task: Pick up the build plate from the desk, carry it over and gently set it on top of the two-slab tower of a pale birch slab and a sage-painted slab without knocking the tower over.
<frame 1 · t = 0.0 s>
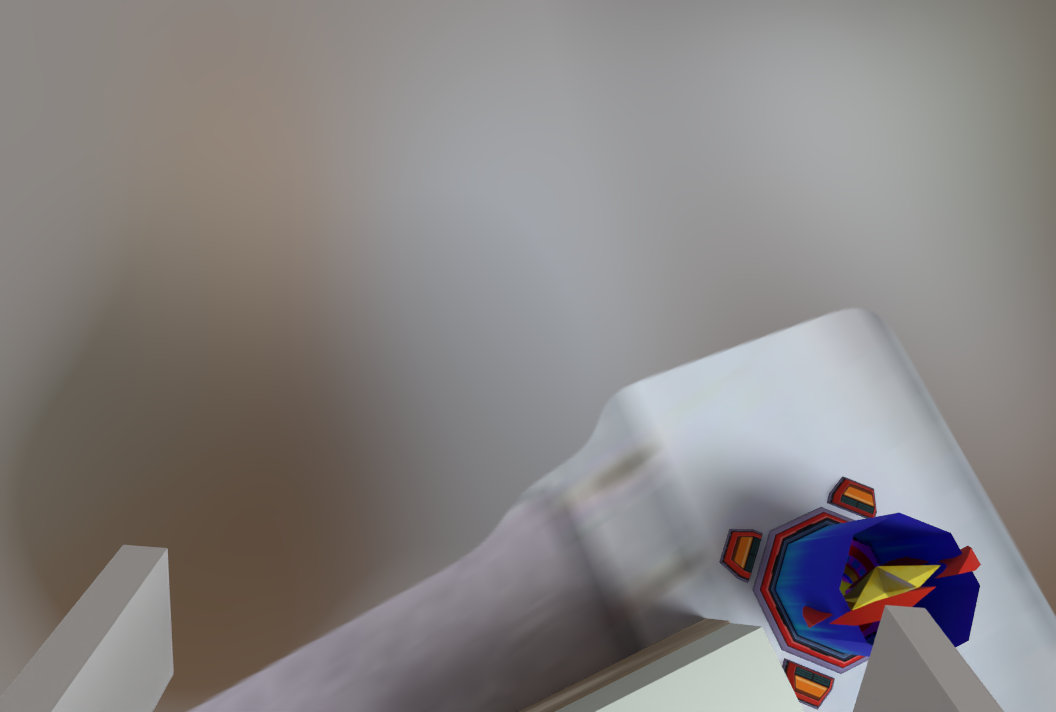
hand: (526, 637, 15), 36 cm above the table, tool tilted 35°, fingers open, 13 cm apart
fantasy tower: (828, 588, 52), on the table
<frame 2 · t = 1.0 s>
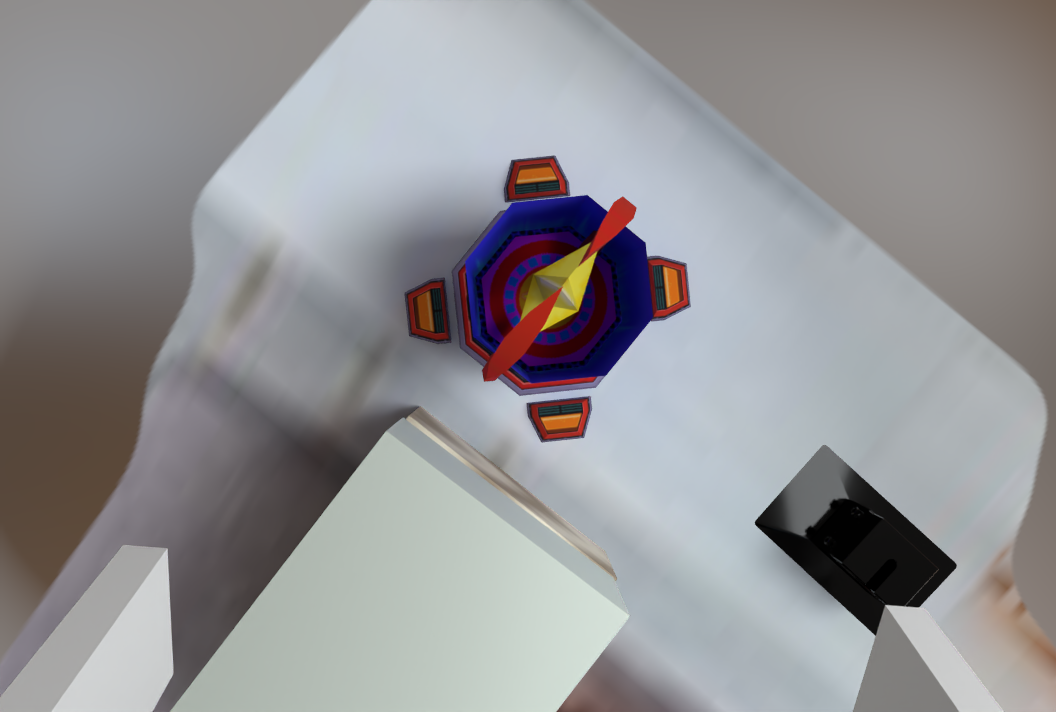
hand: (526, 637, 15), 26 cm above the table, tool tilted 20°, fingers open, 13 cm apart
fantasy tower: (547, 299, 41), on the table
top block: (407, 628, 37), point 5 cm above the table, touching base block
base block: (422, 591, 42), on the table, touching top block
build plate: (848, 540, 42), on the table
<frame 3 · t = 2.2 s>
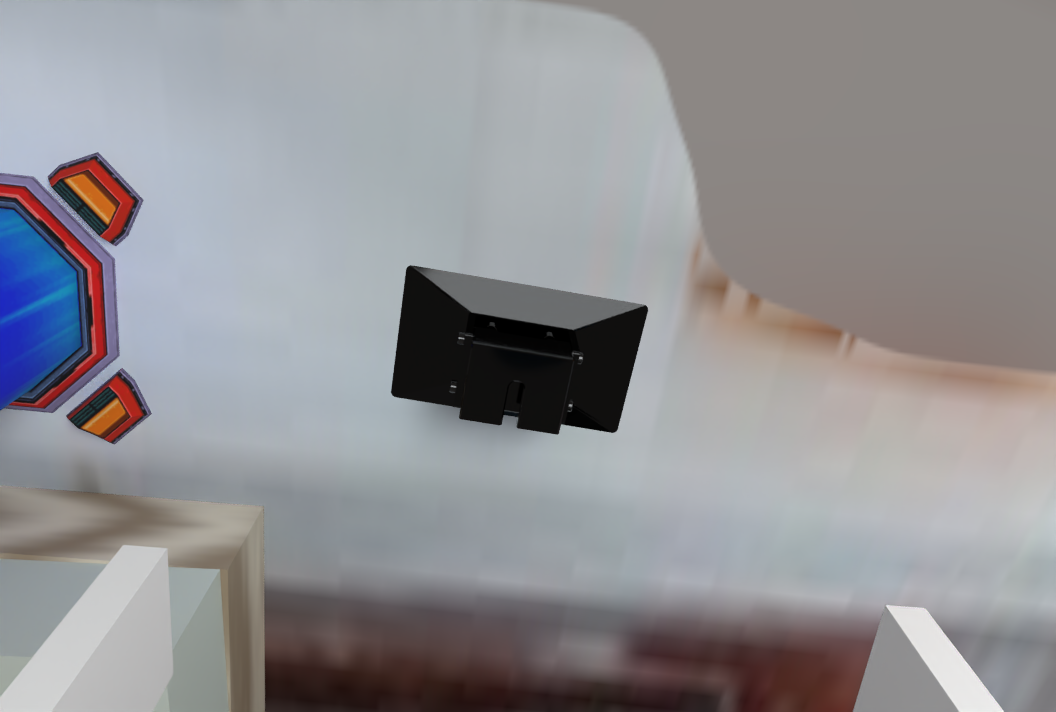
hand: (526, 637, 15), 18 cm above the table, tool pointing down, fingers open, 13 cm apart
base block: (132, 637, 37), on the table
build plate: (515, 346, 33), on the table
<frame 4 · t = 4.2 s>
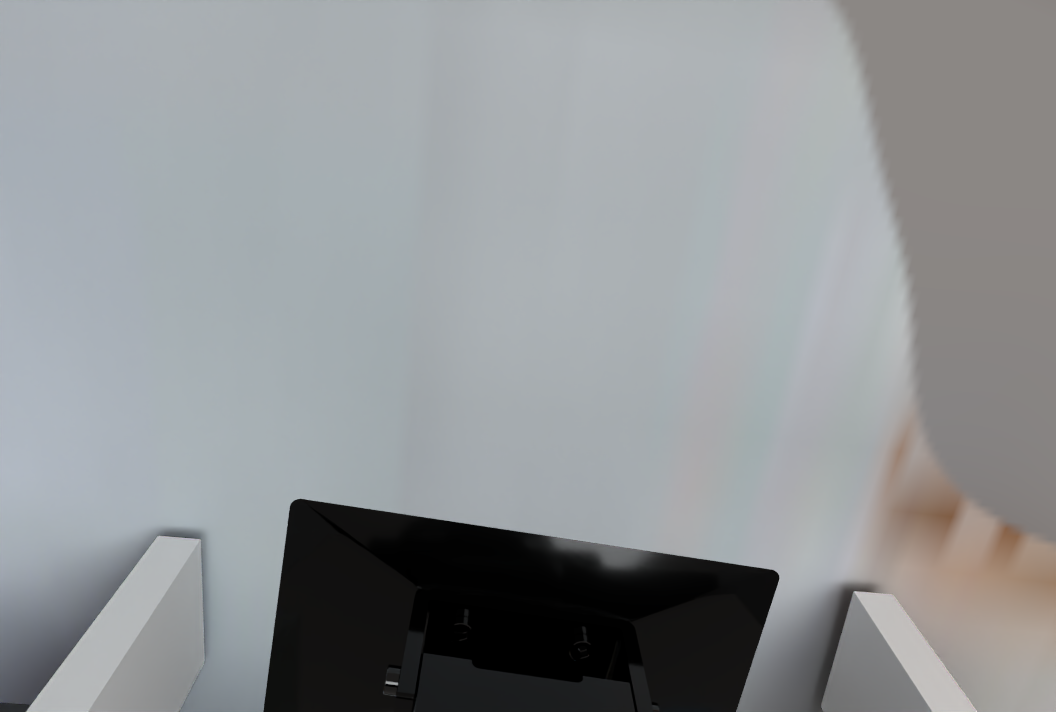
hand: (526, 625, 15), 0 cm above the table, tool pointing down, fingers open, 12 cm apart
build plate: (511, 628, 17), on the table
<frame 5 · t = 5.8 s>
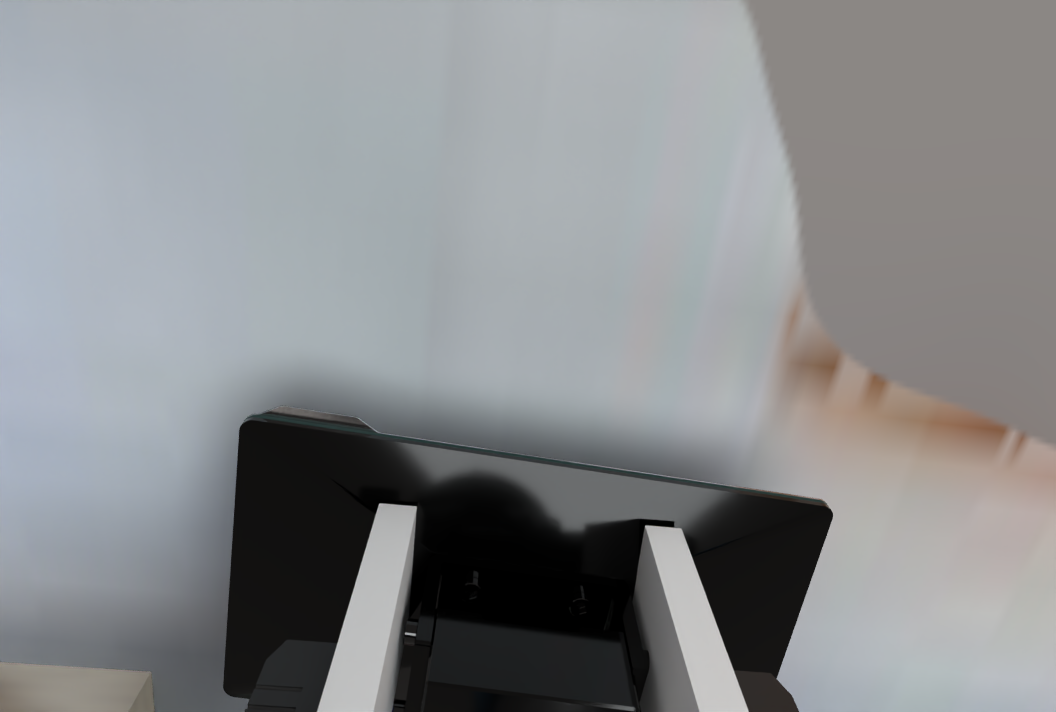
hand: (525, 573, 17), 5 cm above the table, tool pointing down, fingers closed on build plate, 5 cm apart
build plate: (517, 591, 18), point 4 cm above the table, touching gripper
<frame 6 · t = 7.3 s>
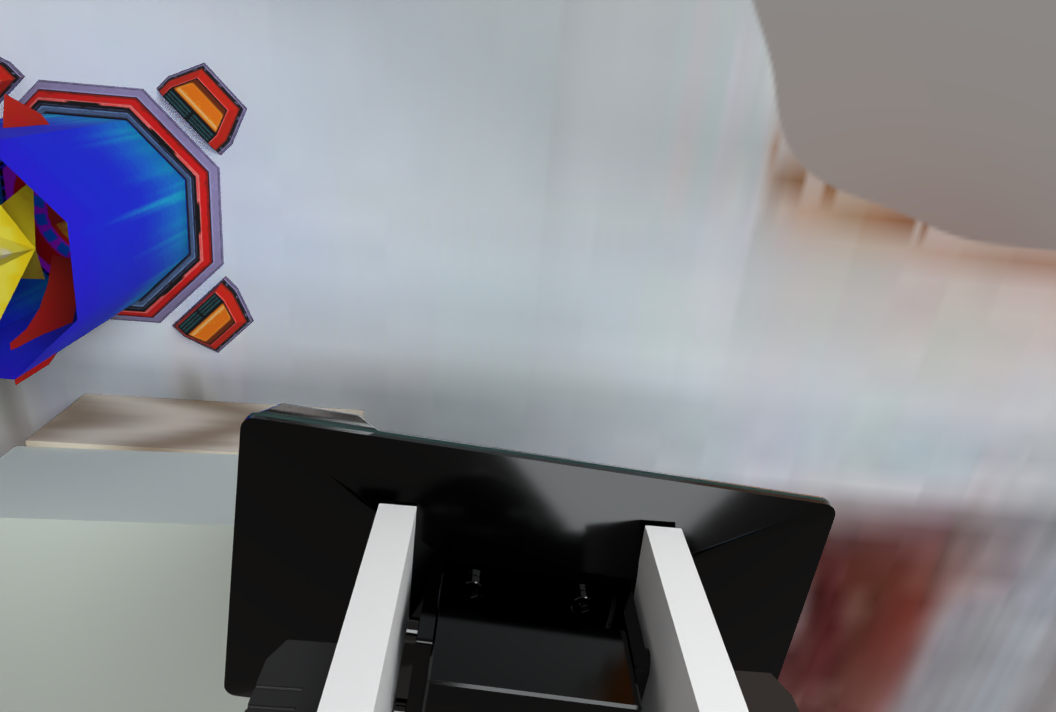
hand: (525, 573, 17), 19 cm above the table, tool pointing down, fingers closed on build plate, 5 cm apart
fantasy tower: (105, 206, 33), on the table
top block: (192, 614, 34), point 5 cm above the table, touching base block
base block: (236, 545, 38), on the table, touching top block
build plate: (518, 589, 18), point 18 cm above the table, touching gripper
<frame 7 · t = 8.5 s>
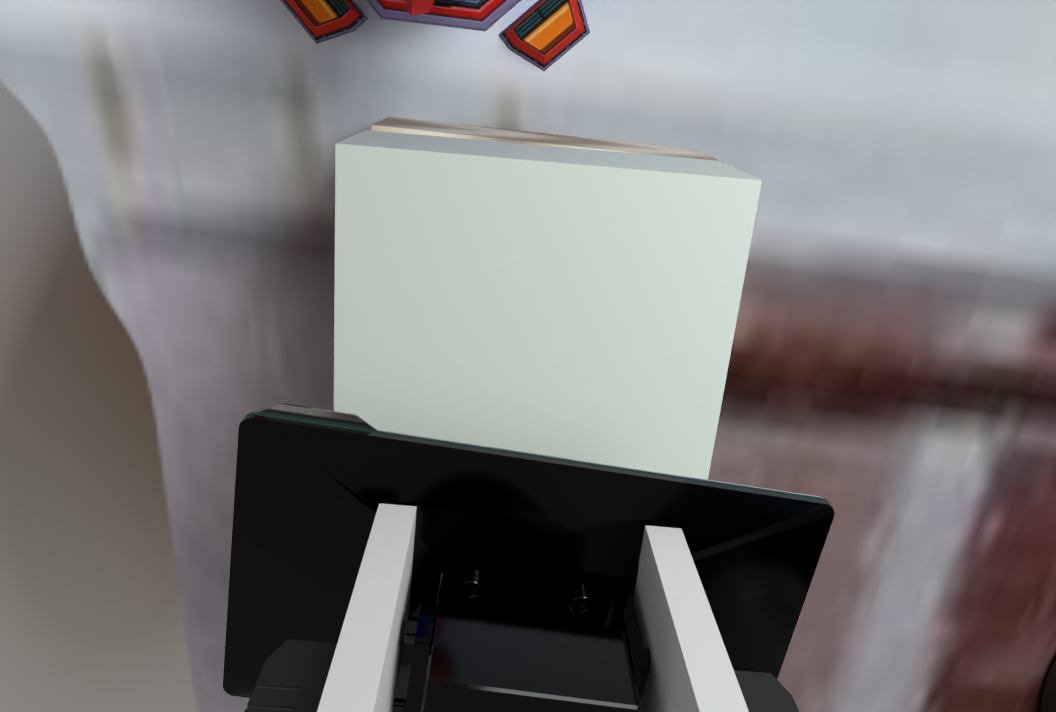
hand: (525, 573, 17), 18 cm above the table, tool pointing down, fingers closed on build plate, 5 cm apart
top block: (525, 353, 30), point 4 cm above the table
base block: (524, 313, 35), on the table
build plate: (517, 589, 18), point 17 cm above the table, touching gripper
when the fingers open (11 cm above the table, at t = 10.3 s): build plate moves 1 cm, resting on top block.
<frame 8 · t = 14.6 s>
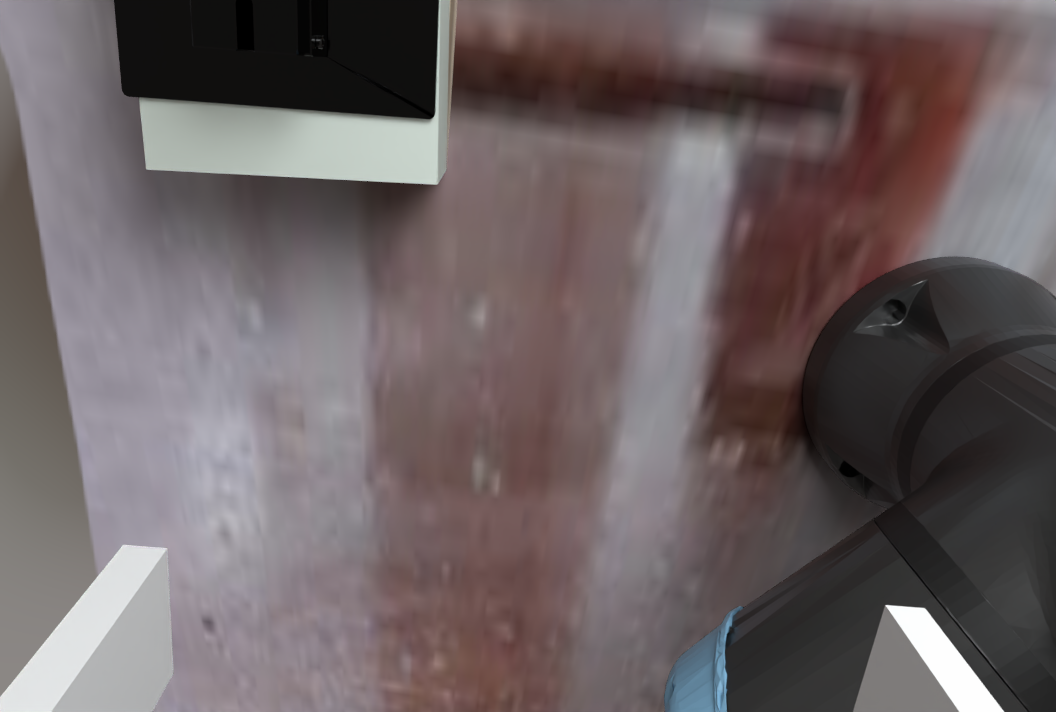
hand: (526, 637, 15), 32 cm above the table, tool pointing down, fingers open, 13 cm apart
base block: (337, 3, 41), on the table, touching top block
build plate: (280, 14, 32), point 9 cm above the table, touching top block
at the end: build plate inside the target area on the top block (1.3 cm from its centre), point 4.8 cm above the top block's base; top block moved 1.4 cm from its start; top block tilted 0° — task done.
